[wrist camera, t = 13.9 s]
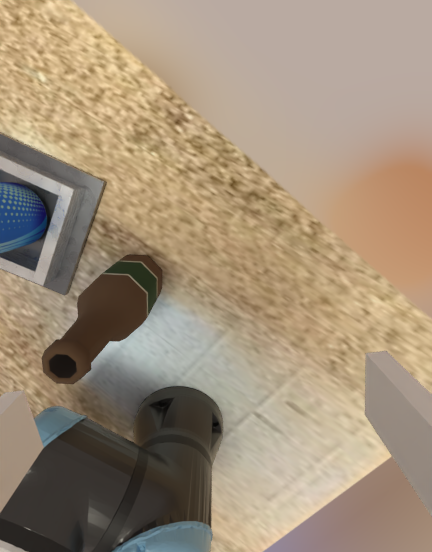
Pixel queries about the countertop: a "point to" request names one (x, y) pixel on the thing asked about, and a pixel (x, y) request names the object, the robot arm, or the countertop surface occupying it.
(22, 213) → the beer can
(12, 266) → the silver square tray
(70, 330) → the beer bottle
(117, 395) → the countertop surface
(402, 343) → the countertop surface
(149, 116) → the countertop surface
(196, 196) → the countertop surface
